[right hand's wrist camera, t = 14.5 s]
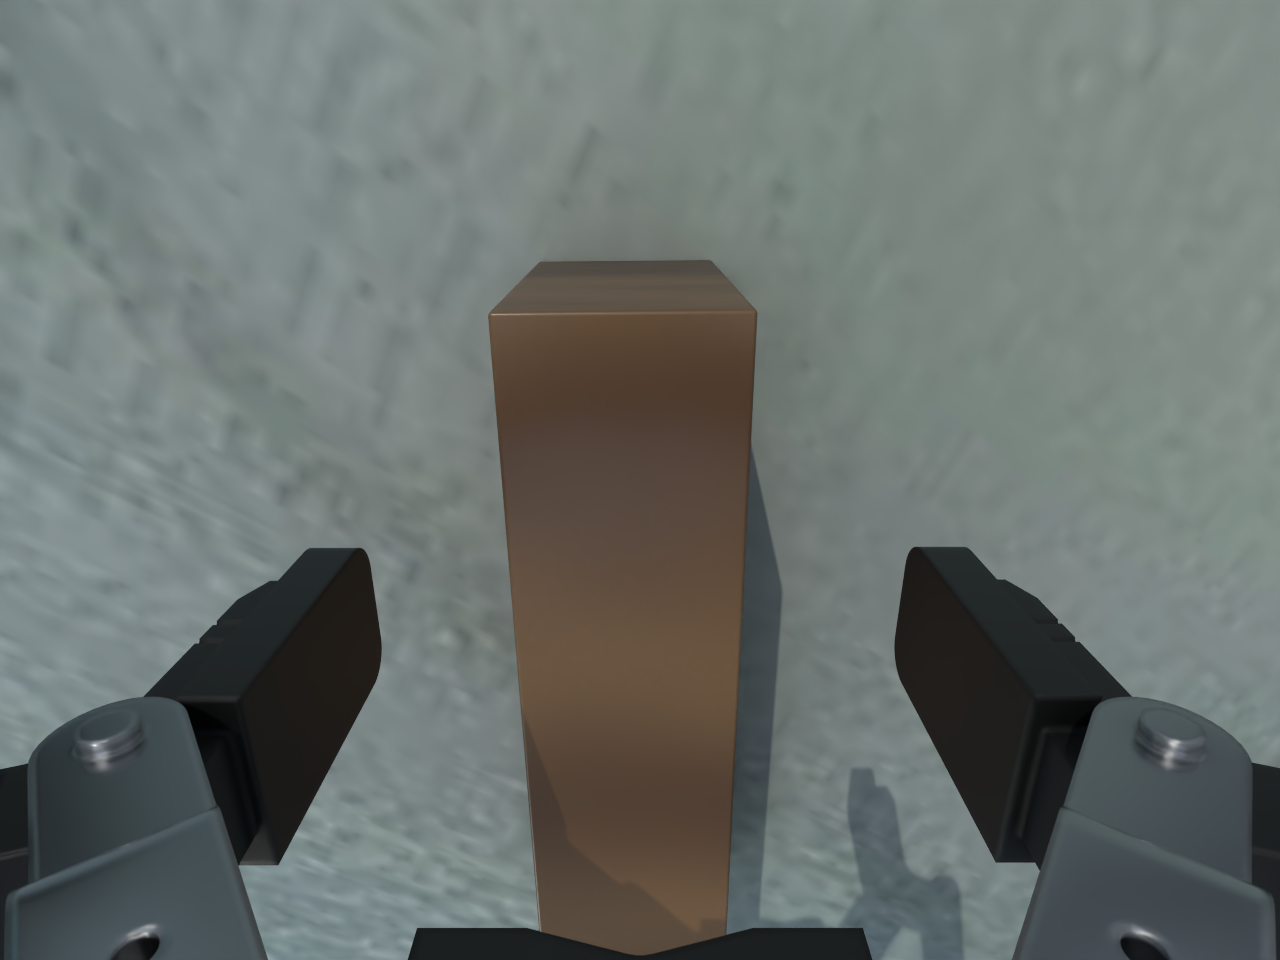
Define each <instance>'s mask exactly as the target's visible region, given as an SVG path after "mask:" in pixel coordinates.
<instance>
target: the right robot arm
mask: <svg viewBox="0 0 1280 960" xmlns="http://www.w3.org/2000/svg"><path fill="white" fill-rule="evenodd" d="M381 649H382V647H381V635H380V628H379V622H378V615H377V608H376V601H375V594H374V587H373V580H372V573H371V567H370V562H369V558H368V555H367V553H366V552H365V550H363V549H362V548H309V549H307V550H306V551H305V552H304V553H303V554H302V555H301V556H300V557H299V558H298V560H297V561H296V562H295V563H294V564H293V565H292V566H291V567H290V568H289V569H288V570H287V572H286V573H285V574H284V575H283V576H282V577H281V578H280V579H279V580H278V581H269V582H267V583H266V584H264V585H262V586H260V587H259V588H257V589H255V590H253V591H252V592H250V593H248V594H246V595H245V596H243V597H241V598H239V599H238V600H237V601H236V602H235V603H234V604H233V605H232V606H231V607H230V608H229V609H228V610H227V611H226V612H225V613H224V614H223V615H222V616H221V617H220V618H219V619H218V620H217V625H213V626H212V627H211V628H210V629H209V630H208V631H207V632H206V633H205V634H204V635H203V636H202V637H201V638H200V642H199V644H194V645H193V646H192V647H191V648H190V649H189V650H188V651H187V652H186V653H185V654H184V655H183V657H182V658H181V659H180V660H179V661H178V662H177V663H176V664H175V665H174V666H173V667H172V668H171V669H170V670H169V671H168V672H167V673H166V674H165V675H164V676H163V677H162V678H161V679H160V680H159V681H158V682H157V683H156V684H155V685H154V686H153V687H152V688H151V690H150V691H149V692H148V693H147V694H146V695H145V696H144V697H139V698H131V699H126V700H122V701H117V702H114V703H110V704H107V705H104V706H101V707H98V708H96V709H93V710H91V711H88V712H86V713H84V714H82V715H80V716H78V717H76V718H74V719H72V720H70V721H68V722H67V723H65V724H64V725H62V726H61V727H59V728H58V729H56V730H55V731H54V732H52V733H51V734H50V735H48V736H47V737H46V738H45V739H44V740H43V741H42V742H41V743H40V744H39V745H38V746H37V748H36V749H35V750H34V752H33V753H32V755H31V757H30V759H29V762H28V764H24V765H20V766H15V767H10V768H5V769H0V960H268V958H267V955H266V952H265V949H264V946H263V943H262V939H261V936H260V933H259V930H258V927H257V924H256V920H255V917H254V914H253V911H252V908H251V905H250V901H249V898H248V895H247V892H246V889H245V886H244V882H243V879H242V876H241V873H240V870H239V867H238V865H279V863H280V861H281V859H282V857H283V855H284V853H285V852H286V850H287V848H288V846H289V844H290V842H291V840H292V838H293V837H294V835H295V833H296V831H297V829H298V827H299V825H300V823H301V821H302V820H303V818H304V816H305V814H306V812H307V810H308V808H309V806H310V805H311V803H312V801H313V799H314V797H315V795H316V793H317V791H318V789H319V788H320V786H321V784H322V782H323V780H324V778H325V776H326V774H327V773H328V771H329V769H330V767H331V765H332V763H333V761H334V759H335V757H336V756H337V754H338V752H339V750H340V748H341V746H342V744H343V742H344V741H345V739H346V737H347V735H348V733H349V731H350V729H351V727H352V726H353V724H354V722H355V720H356V718H357V716H358V714H359V712H360V710H361V709H362V707H363V705H364V703H365V701H366V699H367V697H368V695H369V694H370V692H371V690H372V688H373V686H374V684H375V682H376V679H377V677H378V673H379V669H380V663H381ZM895 661H896V667H897V671H898V675H899V678H900V680H901V683H902V685H903V686H904V688H905V690H906V692H907V694H908V696H909V698H910V700H911V702H912V704H913V705H914V707H915V709H916V711H917V713H918V715H919V717H920V719H921V721H922V723H923V725H924V726H925V728H926V730H927V732H928V734H929V736H930V738H931V740H932V742H933V744H934V745H935V747H936V749H937V751H938V753H939V755H940V757H941V759H942V761H943V763H944V765H945V766H946V768H947V770H948V772H949V774H950V776H951V778H952V780H953V782H954V784H955V785H956V787H957V789H958V791H959V793H960V795H961V797H962V799H963V801H964V803H965V805H966V806H967V808H968V810H969V812H970V814H971V816H972V818H973V820H974V822H975V824H976V825H977V827H978V829H979V831H980V833H981V835H982V837H983V839H984V841H985V843H986V845H987V846H988V848H989V850H990V852H991V854H992V856H993V858H994V860H995V862H1035V863H1036V865H1037V866H1038V868H1039V870H1040V873H1039V876H1038V879H1037V882H1036V886H1035V889H1034V892H1033V895H1032V898H1031V901H1030V905H1029V908H1028V911H1027V914H1026V917H1025V920H1024V924H1023V927H1022V930H1021V933H1020V936H1019V939H1018V942H1017V946H1016V949H1015V952H1014V955H1013V958H1012V960H1280V768H1276V767H1271V766H1266V765H1261V764H1256V763H1252V762H1251V759H1250V757H1249V755H1248V753H1247V752H1246V750H1245V749H1244V748H1243V746H1242V745H1241V744H1240V743H1239V742H1238V741H1237V740H1236V739H1235V738H1234V737H1233V736H1232V735H1230V734H1229V733H1228V732H1226V731H1225V730H1224V729H1222V728H1221V727H1219V726H1218V725H1216V724H1215V723H1213V722H1212V721H1210V720H1208V719H1206V718H1204V717H1202V716H1200V715H1198V714H1196V713H1194V712H1192V711H1189V710H1187V709H1184V708H1182V707H1179V706H1176V705H1173V704H1170V703H1166V702H1163V701H1158V700H1154V699H1149V698H1141V697H1132V696H1131V695H1130V694H1129V693H1128V692H1127V691H1126V690H1125V689H1124V688H1123V687H1122V686H1121V685H1120V684H1119V683H1118V682H1117V681H1116V680H1115V678H1114V677H1113V676H1112V675H1111V674H1110V673H1109V672H1108V671H1107V670H1106V669H1105V668H1104V667H1103V666H1102V665H1101V664H1100V663H1099V662H1098V661H1097V660H1096V659H1095V658H1094V657H1093V656H1092V655H1091V654H1090V652H1089V651H1088V650H1087V649H1086V648H1085V647H1084V646H1083V645H1082V644H1081V643H1080V642H1075V637H1074V636H1073V635H1072V634H1071V633H1070V632H1069V631H1068V630H1067V629H1066V627H1065V626H1064V625H1063V624H1058V619H1057V618H1056V617H1055V616H1054V615H1053V614H1052V613H1051V612H1050V611H1049V610H1048V609H1047V608H1046V607H1045V606H1044V605H1043V604H1042V602H1041V601H1040V600H1039V599H1038V598H1036V597H1035V596H1033V595H1031V594H1029V593H1028V592H1026V591H1024V590H1022V589H1021V588H1019V587H1017V586H1015V585H1014V584H1012V583H1010V582H1008V581H1007V580H997V579H996V578H995V577H994V576H993V575H992V573H991V572H990V571H989V570H988V569H987V568H986V567H985V566H984V565H983V563H982V562H981V561H980V560H979V559H978V558H977V557H976V556H975V555H974V554H973V552H972V551H971V550H970V549H968V548H967V547H914V548H912V549H911V550H910V552H909V554H908V557H907V560H906V565H905V572H904V579H903V586H902V593H901V600H900V607H899V614H898V621H897V628H896V635H895ZM408 960H872V957H871V954H870V951H869V947H868V944H867V941H866V937H865V934H864V931H863V928H752V929H748V930H744V931H740V932H736V933H732V934H728V935H724V936H720V937H716V938H712V939H709V940H705V941H701V942H697V943H693V944H689V945H685V946H681V947H677V948H673V949H669V950H665V951H661V952H658V953H654V954H648V955H632V954H626V953H622V952H619V951H615V950H611V949H607V948H603V947H599V946H595V945H591V944H587V943H583V942H579V941H575V940H571V939H568V938H564V937H560V936H556V935H552V934H548V933H544V932H540V931H536V930H532V929H528V928H417V931H416V934H415V937H414V941H413V944H412V947H411V951H410V954H409V957H408Z"/></svg>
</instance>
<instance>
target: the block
mask: <svg viewBox="0 0 1280 960" xmlns="http://www.w3.org/2000/svg"><path fill="white" fill-rule="evenodd" d="M488 319H489V331H490V343H491V355H492V367H493V379H494V391H495V403H496V415H497V427H498V439H499V451H500V463H501V475H502V487H503V499H504V511H505V523H506V535H507V547H508V559H509V571H510V583H511V595H512V607H513V619H514V631H515V643H516V655H517V667H518V679H519V691H520V703H521V715H522V727H523V739H524V751H525V763H526V775H527V787H528V800H529V812H530V824H531V836H532V848H533V860H534V872H535V884H536V896H537V908H538V920H539V931H540V932H544V933H548V934H552V935H556V936H560V937H564V938H568V939H571V940H575V941H579V942H583V943H587V944H591V945H595V946H599V947H603V948H607V949H611V950H615V951H619V952H622V953H626V954H632V955H648V954H654V953H658V952H661V951H665V950H669V949H673V948H677V947H681V946H685V945H689V944H693V943H697V942H701V941H705V940H709V939H712V938H716V937H720V936H724V935H726V929H727V909H728V889H729V869H730V849H731V829H732V809H733V789H734V769H735V749H736V729H737V709H738V689H739V669H740V649H741V629H742V609H743V589H744V569H745V549H746V529H747V509H748V489H749V469H750V449H751V429H752V409H753V389H754V370H755V350H756V330H757V311H756V309H755V308H754V307H753V306H752V305H751V304H750V303H749V302H748V301H747V300H746V298H745V297H744V296H743V295H742V294H741V293H740V292H739V291H738V290H737V289H736V288H735V286H734V285H733V284H732V283H731V282H730V281H729V280H728V279H727V278H726V277H725V275H724V274H723V273H722V272H721V271H720V270H719V269H718V268H717V267H716V266H715V264H714V263H713V262H712V261H710V260H692V261H590V262H540V263H538V264H537V265H536V266H535V267H534V268H533V269H532V270H531V271H530V272H529V273H528V274H527V275H526V276H525V277H524V278H523V279H522V280H521V281H520V282H519V284H518V285H517V286H516V287H515V288H514V289H513V290H512V291H511V292H510V293H509V294H508V295H507V296H506V297H505V298H504V299H503V300H502V301H501V302H500V303H499V304H498V305H497V306H496V307H495V308H494V309H493V310H492V311H491V312H490V313H489V315H488Z"/></svg>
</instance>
